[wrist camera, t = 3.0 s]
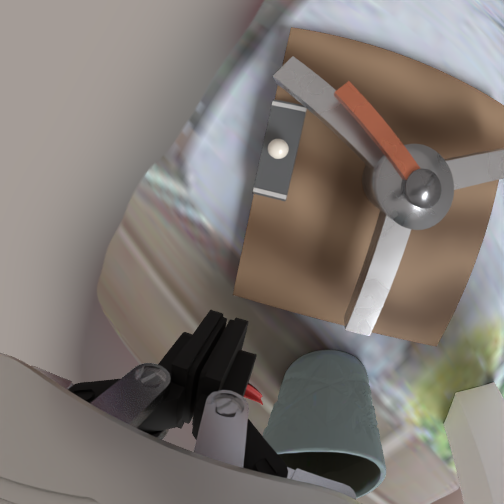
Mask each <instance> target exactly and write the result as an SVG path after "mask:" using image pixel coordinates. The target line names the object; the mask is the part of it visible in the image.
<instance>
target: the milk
mask: <svg viewBox="0 0 504 504" xmlns="http://www.w3.org/2000/svg"><path fill="white" fill-rule="evenodd" d="M444 428H445V431H446V434H447V437H448V441H449V444H450V448H451V451H452V455H453V459H454V462H455V466H456V470H457V474H458V479H459V483H460V488H461V492H462V497H463V502H464V504H504V398H503V396H502V395H501V393H500V391H499V389H498V388H497V386H496V384H495V383H494V382H493V383H489V384H486V385H483V386H479V387H476V388H472V389H468V390H464V391H460V392H456V393H455V396H454V399H453V401H452V404H451V407H450V409H449V412H448V415H447V417H446V420H445V422H444Z"/></svg>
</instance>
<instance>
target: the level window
mask: <svg viewBox="0 0 504 504" xmlns="http://www.w3.org/2000/svg"><path fill="white" fill-rule="evenodd" d="M306 111H307V108H306V107H304V106H303V105H300V104H295V103H290V102H285V101H280V100H274V99H273V101H272V106H271V111H270V115H269V120H268V124H267V129H266V133H265V138H264V142H263V147H262V152H261V156H260V161H259V165H258V170H257V175H256V179H255V184H254V188H253V194H257V195H261V196H265V197H269V198H273V199H277V200H281V201H286V199H287V195H288V191H289V186H290V182H291V178H292V173H293V169H294V165H295V160H296V156H297V152H298V147H299V143H300V138H301V134H302V129H303V125H304V120H305V116H306ZM274 139H282V140H284V141H285V142H286V143H287V144H288V147H289V151H288V154H287V155H286V156H285V157H284V158H282V159H275V158H273V157H271V156H270V154H269V153H268V145H269V143H270V142H271V141H272V140H274Z"/></svg>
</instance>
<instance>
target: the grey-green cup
mask: <svg viewBox="0 0 504 504" xmlns="http://www.w3.org/2000/svg"><path fill="white" fill-rule="evenodd" d="M371 400H372V398H371V390H370V386H369V380H368V375H367V372H366V370H365V368H364V366H363V365H362V363H361V362H360V361H359V360H358V359H357V358H355V357H354V356H352V355H350V354H348V353H345V352H342V351H337V350H319V351H314V352H311V353H308V354H305V355H303V356H301V357H300V358H298V359H297V360H296V361H294V362H293V363H292V364H291V366H290V367H289V368H288V370H287V371H286V373H285V376H284V379H283V382H282V385H281V388H280V392H279V395H278V401H277V402H276V403H275V404H274V406H273V410H272V412H271V415H270V418H269V422H268V426H267V427H266V428H265V430H264V433H263V438H264V439H265V440H266V441H267V442H268V444H269V445H270V446H271V447H272V448H273V449H274V451H275V452H276V453H277V454H278V455H279V456H280V457H281V459H282V460H283V461H284V462H285V464H286V465H287V467H288V468H291V469H294V470H296V469H297V468H298V469H301V470H303V471H306V472H309V473H312V474H315V475H318V476H320V477H323V478H327V479H330V480H333V481H336V482H339V483H343V484H345V485H347V486H350V487H351V488H352V489H353V490H354V492H355V495H356V498H359V497H361V496H364V495H366V494H368V493H370V492H371V491H373V490H374V489H375V488H377V487H378V486H379V485H380V484H381V483H382V481H383V480H384V478H385V475H386V466H385V461H384V455H383V450H382V446H381V442H380V434H379V430H378V428H377V424H378V423H377V421H376V415H375V409H374V406H372V401H371Z"/></svg>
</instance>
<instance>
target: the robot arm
mask: <svg viewBox="0 0 504 504" xmlns="http://www.w3.org/2000/svg"><path fill="white" fill-rule="evenodd" d="M226 322H227V318H224V317H223V314H222V313H219V312H216V311H213V310H210V311H209V313H208V314H207V316H206V317H205V318H204V320H203V321H202V322H201V324H200V325H199V327H198V328H197V329H196V331H195V332H194V334H193V335H192V334H189V333H187V332H184V333H183V334H182V335H181V336H180V337H179V338H178V340H177V341H176V342H175V344H174V345H173V346H172V347H171V349H170V350H169V351H168V352H167V354H166V355H165V356H164V358H163V359H162V360H161V361H160V363H159V364H153V363H144V364H140V365H138V366H136V367H135V368H134V369H132V370H131V371H130V372H128V373H127V374H126V375H125V376H124V377H122V378H121V379H114V380H105V381H95V382H84V383H78V384H75V385H74V384H73V383H72V381H70V380H68V379H65V378H62V377H60V376H57V375H55V374H52V373H50V372H47V371H45V370H43V369H40V368H38V367H35V366H30V365H28V364H26V363H25V362H23V361H21V360H19V359H17V358H15V357H12V356H9V355H6V354H2V353H0V504H362V503H360V502H358V501H357V500H356V495H355V492H354V490H353V489H352V488H351V487H350V486H347V485H345V484H343V483H339V482H336V481H333V480H330V479H327V478H323V477H320V476H318V475H315V474H312V473H309V472H306V471H303V470H301V469H298V468H297V469H296V470H294V469H291V468H288V467H287V465H286V464H285V462H284V461H283V460H282V459H281V457H280V456H279V455H278V454H277V453H276V452H275V451H274V449H273V448H272V447H271V446H270V445H269V444H268V442H267V441H266V440H265V439H264V438H263V436H262V435H261V434H260V433H259V431H258V430H257V429H256V428H255V427H254V425H253V424H252V423H251V422H250V420H249V419H248V411H249V407H248V403H247V401H246V399H245V398H244V394H245V391H246V388H247V385H248V382H249V379H250V376H251V372H252V369H253V366H254V362H255V359H256V354H252V353H249V352H245V351H242V346H243V342H244V338H245V334H246V330H247V326H248V321H246V320H242V319H239V318H235V320H231V319H230V321H229V322H228V324H227V326H226ZM225 327H226V328H225ZM192 417H193V423H192V425H193V430H192V434H193V436H194V437H195V439H196V444H195V448H194V452H192V451H189V450H186V449H184V448H181V447H179V446H176V445H173V444H171V443H169V442H166V441H164V440H162V439H163V438H164V437H165V436H166V434H167V432H168V429H170V428H175V427H178V428H182V426H183V424H184V422H185V423H190V421H191V419H192Z"/></svg>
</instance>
